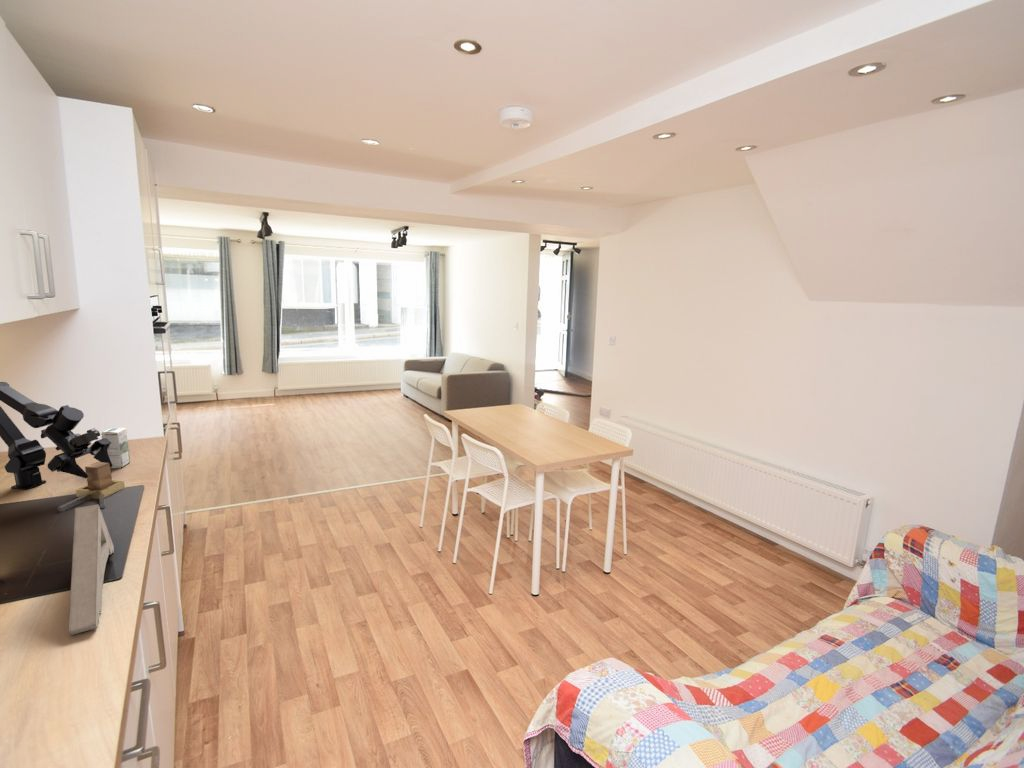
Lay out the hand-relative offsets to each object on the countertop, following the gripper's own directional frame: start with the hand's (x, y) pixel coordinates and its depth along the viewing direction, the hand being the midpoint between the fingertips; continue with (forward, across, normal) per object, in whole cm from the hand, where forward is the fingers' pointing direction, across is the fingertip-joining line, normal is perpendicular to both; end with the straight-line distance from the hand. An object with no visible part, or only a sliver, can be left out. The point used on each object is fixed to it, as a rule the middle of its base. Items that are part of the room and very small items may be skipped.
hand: (99, 471), depth 168 cm
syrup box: (-5, +22, +16) cm, 27 cm away
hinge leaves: (+7, -5, +3) cm, 9 cm away
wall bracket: (+36, -48, -25) cm, 65 cm away
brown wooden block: (+5, 0, +6) cm, 8 cm away
